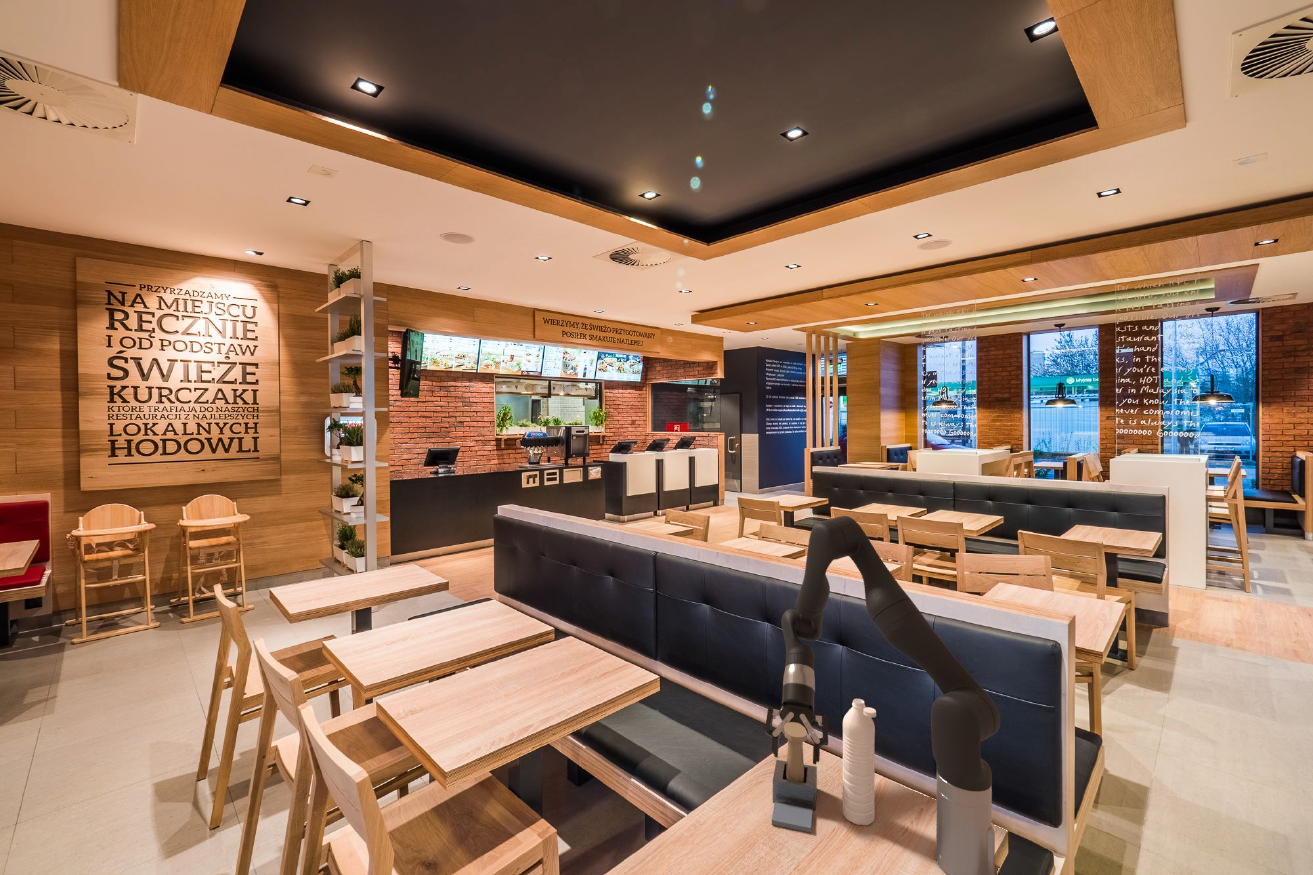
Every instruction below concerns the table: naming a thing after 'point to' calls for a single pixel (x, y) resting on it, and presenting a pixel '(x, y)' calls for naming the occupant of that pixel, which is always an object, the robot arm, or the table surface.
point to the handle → (795, 751)
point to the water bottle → (858, 764)
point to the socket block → (795, 787)
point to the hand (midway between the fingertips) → (795, 759)
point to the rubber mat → (792, 817)
